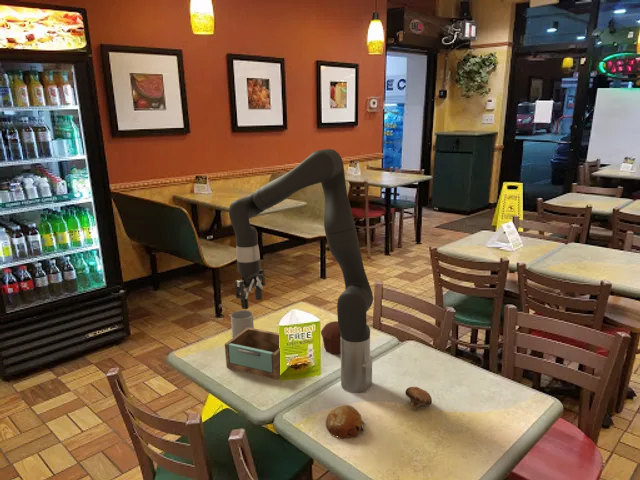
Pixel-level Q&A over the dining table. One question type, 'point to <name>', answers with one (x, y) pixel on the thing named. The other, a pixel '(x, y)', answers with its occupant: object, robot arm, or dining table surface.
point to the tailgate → (251, 357)
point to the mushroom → (418, 397)
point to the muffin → (332, 338)
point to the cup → (241, 321)
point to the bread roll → (344, 422)
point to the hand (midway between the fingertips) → (252, 304)
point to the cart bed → (257, 341)
